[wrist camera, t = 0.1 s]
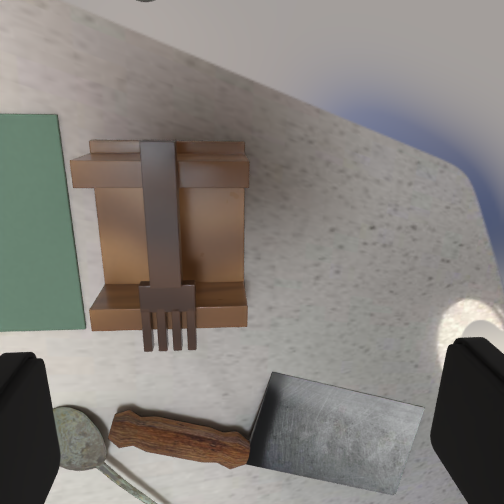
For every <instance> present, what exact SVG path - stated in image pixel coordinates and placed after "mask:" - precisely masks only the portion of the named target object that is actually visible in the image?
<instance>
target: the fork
mask: <svg viewBox="0 0 504 504" xmlns="http://www.w3.org/2000/svg"><path fill="white" fill-rule="evenodd" d="M139 146H140V159H141V173H142V186H143V200H144V214H145V227H146V241H147V254H148V268H149V281H140V284H139V286H138V289H139V300H140V312H141V318H142V330H143V342H144V351H145V352H152V351H153V348H154V334H153V320H152V313H155V312H156V315H157V329H158V344H159V351H167V350H168V345H169V343H168V327H167V312H171V313H172V331H173V349H174V351H178V350H182V346H183V339H182V318H181V312H186V313H187V337H188V350H196V348H197V334H196V286H195V280H183V272H182V249H181V227H180V204H179V182H178V159H177V140H142V141H139Z"/></svg>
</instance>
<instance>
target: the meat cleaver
mask: <svg viewBox="0 0 504 504" xmlns="http://www.w3.org/2000/svg"><path fill="white" fill-rule="evenodd" d="M424 409H425V408H424V407H420V406H415V405H411V404H407V403H403V402H398V401H394V400H390V399H386V398H381V397H377V396H373V395H369V394H364V393H360V392H356V391H351V390H347V389H343V388H339V387H334V386H330V385H326V384H322V383H317V382H313V381H309V380H305V379H300V378H296V377H292V376H288V375H283V374H279V373H275V372H272V375H271V378H270V381H269V384H268V387H267V390H266V393H265V396H264V399H263V402H262V405H261V408H260V411H259V413H258V416H257V419H256V422H255V425H254V428H253V431H252V434H251V437H250V440H249V441H248V440H247V439H246V438H245V437H243V436H242V435H241V434H240V433H238V432H237V431H235V432H221V431H218V430H215V429H213V428H210V427H205V426H200V425H195V424H191V423H186V422H181V421H176V420H171V419H166V418H161V417H140V416H139V415H137V414H135V413H134V412H132V411H131V410H128V411H124V412H121V413H117V414H115V416H114V419H113V422H112V426H111V429H110V432H109V436H108V439H109V440H110V441H111V442H113V443H114V444H115V445H116V446H117V447H118V448H122V447H128V446H135V447H137V448H139V449H142V450H144V451H146V452H150V453H155V454H161V455H166V456H172V457H177V458H182V459H188V460H193V461H198V462H215V463H219V464H221V465H223V466H225V467H227V468H229V469H233V468H236V467H239V466H242V465H245V464H247V465H252V466H257V467H261V468H266V469H271V470H276V471H280V472H285V473H290V474H295V475H299V476H304V477H309V478H314V479H318V480H323V481H328V482H333V483H337V484H342V485H347V486H351V487H356V488H361V489H366V490H370V491H375V492H380V493H385V494H389V495H394V494H396V492H397V489H398V486H399V483H400V480H401V477H402V474H403V471H404V468H405V465H406V462H407V459H408V456H409V453H410V450H411V447H412V444H413V441H414V438H415V435H416V433H417V430H418V427H419V424H420V421H421V418H422V415H423V412H424Z"/></svg>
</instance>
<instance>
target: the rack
mask: <svg viewBox="0 0 504 504" xmlns="http://www.w3.org/2000/svg"><path fill="white" fill-rule="evenodd" d="M139 141H142V140H90V141H89V146H90V153H89V154H86V155H84V156H81V157H78V158H75V159H73V160H70V167H71V175H72V183H73V188H94V190H95V199H96V207H97V216H98V225H99V234H100V243H101V252H102V261H103V269H104V278H105V285H104V287H103V289H102V290H101V292H100V294H99V295H98V297H97V298H96V300H95V302H94V303H93V305H92V306H91V308H90V310H89V313H90V321H91V328H92V331H117V330H142V318H141V312H140V300H139V289H138V286H139V284H140V281H149V268H148V254H147V241H146V227H145V214H144V200H143V186H142V173H141V159H140V146H139ZM177 159H178V182H179V204H180V227H181V249H182V272H183V280H195V286H196V328H220V327H247V316H248V306H247V299H246V293H245V287H244V188H249V160H248V159H247V157H246V155H245V142H244V141H177ZM181 318H182V329H185V328H187V313H186V312H181ZM152 320H153V329H157V315H156V312H155V313H152ZM167 327H168V329H172V313H171V312H167Z"/></svg>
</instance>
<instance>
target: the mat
mask: <svg viewBox="0 0 504 504" xmlns="http://www.w3.org/2000/svg"><path fill="white" fill-rule="evenodd" d="M75 329H86V323H85V315H84V308H83V301H82V293H81V286H80V278H79V271H78V264H77V256H76V249H75V241H74V234H73V227H72V219H71V212H70V204H69V197H68V189H67V182H66V175H65V167H64V160H63V152H62V145H61V138H60V130H59V123H58V115H52V114H0V332H6V331H41V330H75Z"/></svg>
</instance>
